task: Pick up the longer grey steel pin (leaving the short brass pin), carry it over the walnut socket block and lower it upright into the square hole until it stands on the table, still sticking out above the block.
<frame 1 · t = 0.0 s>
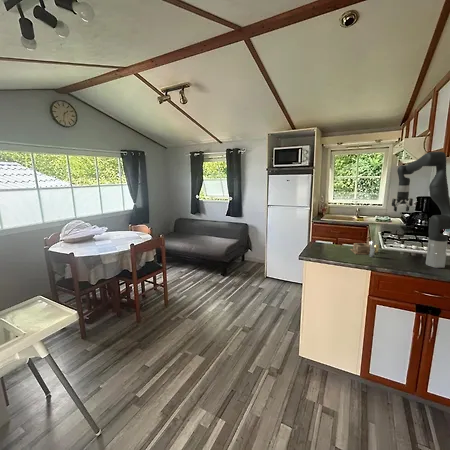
hand: (401, 211, 203), 29 cm above the counter, fingers open, 8 cm apart
short brass pin: (375, 252, 194), on the counter
long steel pin: (371, 256, 184), on the counter
socket block: (361, 252, 195), on the counter
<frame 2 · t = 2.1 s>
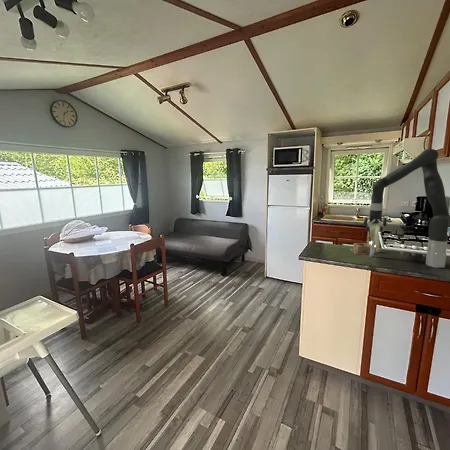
hand: (374, 231, 182), 19 cm above the counter, fingers open, 8 cm apart
nothing on the counter moved.
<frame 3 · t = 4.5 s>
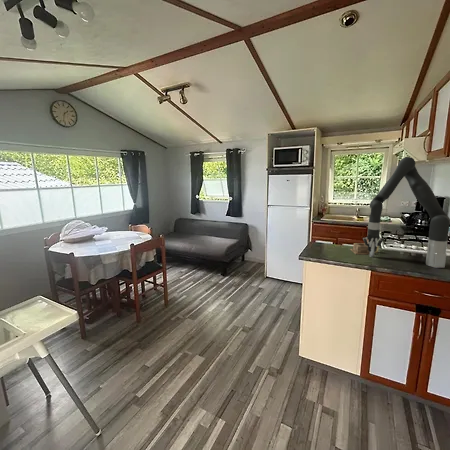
hand: (372, 251, 184), 4 cm above the counter, fingers closed on long steel pin, 3 cm apart
long steel pin: (371, 256, 184), on the counter, touching gripper
everything else where it was.
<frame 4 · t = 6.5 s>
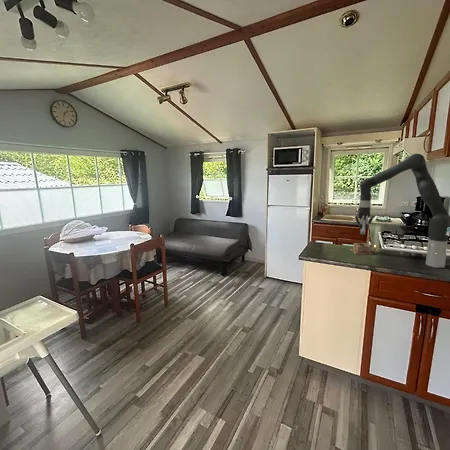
hand: (363, 228, 192), 19 cm above the counter, fingers closed on long steel pin, 3 cm apart
long steel pin: (362, 234, 193), point 14 cm above the counter, touching gripper
everything else where it was.
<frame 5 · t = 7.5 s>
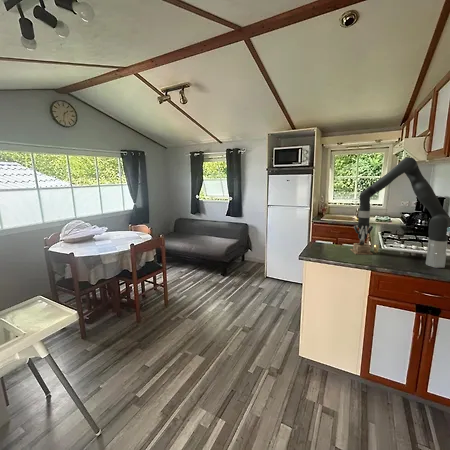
hand: (362, 238, 193), 11 cm above the counter, fingers closed on long steel pin, 3 cm apart
long steel pin: (361, 243, 194), point 7 cm above the counter, touching gripper
everything else where it was.
when the fingers open (7 cm above the counter, at t = 8.5 s): long steel pin drops 3 cm, resting in socket block.
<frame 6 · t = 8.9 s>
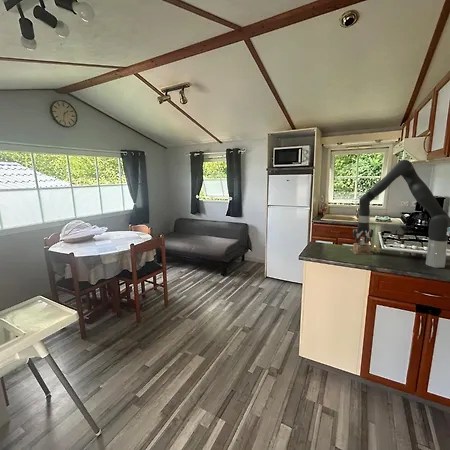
hand: (362, 242, 194), 8 cm above the counter, fingers open, 6 cm apart
long steel pin: (361, 252, 195), resting in socket block
everything else where it was.
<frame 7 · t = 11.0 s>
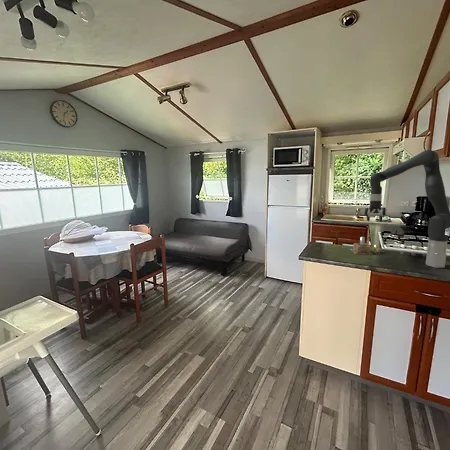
hand: (374, 221, 192), 24 cm above the counter, fingers open, 8 cm apart
nothing on the counter moved.
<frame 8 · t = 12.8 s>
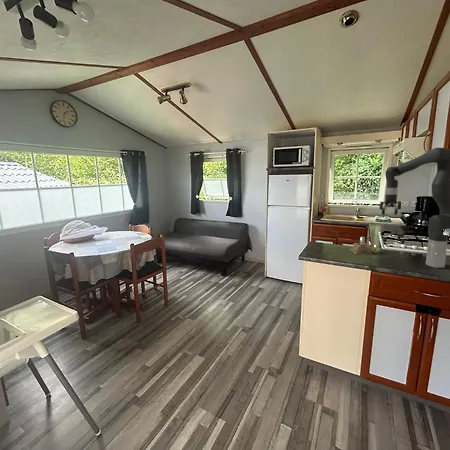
hand: (389, 214, 194), 28 cm above the counter, fingers open, 8 cm apart
nothing on the counter moved.
at the end: long steel pin 0.1 cm off-centre on the socket block, point 0.0 cm above the socket block's base; long steel pin tilted 0°; the gripper is holding nothing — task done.
